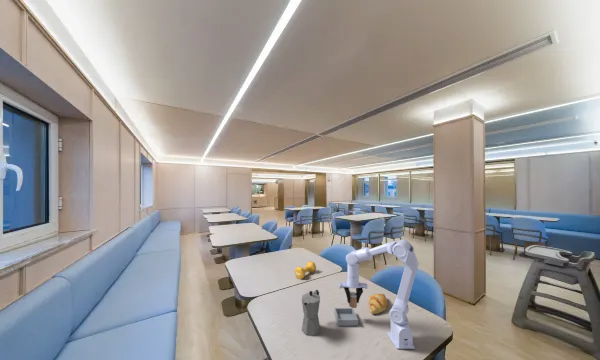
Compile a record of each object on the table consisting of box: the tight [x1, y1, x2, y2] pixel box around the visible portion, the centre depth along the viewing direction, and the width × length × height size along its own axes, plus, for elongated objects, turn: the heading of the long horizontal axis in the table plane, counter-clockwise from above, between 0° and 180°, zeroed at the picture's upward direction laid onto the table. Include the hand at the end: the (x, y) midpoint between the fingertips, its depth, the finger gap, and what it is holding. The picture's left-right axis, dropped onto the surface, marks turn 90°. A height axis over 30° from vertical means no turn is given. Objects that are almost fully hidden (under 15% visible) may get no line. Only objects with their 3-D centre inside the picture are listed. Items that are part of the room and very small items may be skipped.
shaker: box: [348, 291, 358, 309], centre depth 106 cm, size 4×4×6 cm
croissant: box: [368, 293, 388, 315], centre depth 117 cm, size 21×10×8 cm, turn 143°
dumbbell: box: [294, 260, 317, 280], centre depth 159 cm, size 19×9×8 cm, turn 140°
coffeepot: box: [301, 289, 321, 337], centre depth 99 cm, size 15×9×18 cm, turn 151°
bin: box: [333, 307, 359, 327], centre depth 105 cm, size 10×10×3 cm
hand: (352, 302), depth 105 cm, fingers closed on shaker, 4 cm apart
